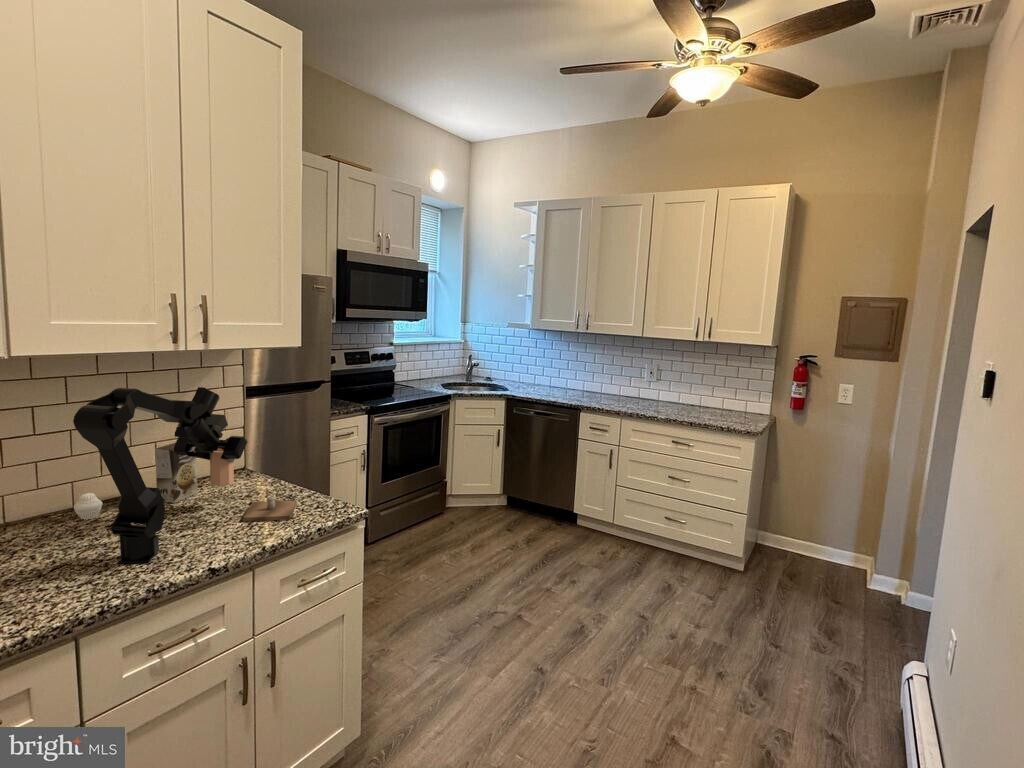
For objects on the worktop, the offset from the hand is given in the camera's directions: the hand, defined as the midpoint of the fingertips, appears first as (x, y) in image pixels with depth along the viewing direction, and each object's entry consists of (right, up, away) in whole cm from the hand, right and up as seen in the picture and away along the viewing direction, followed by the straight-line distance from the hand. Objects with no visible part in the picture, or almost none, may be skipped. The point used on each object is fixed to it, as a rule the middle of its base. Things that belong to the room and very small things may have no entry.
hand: (223, 460), depth 161 cm
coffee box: (-17, -12, +6) cm, 21 cm away
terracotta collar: (0, -7, 0) cm, 7 cm away
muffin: (-30, -14, -12) cm, 35 cm away
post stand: (+15, -15, -2) cm, 21 cm away
